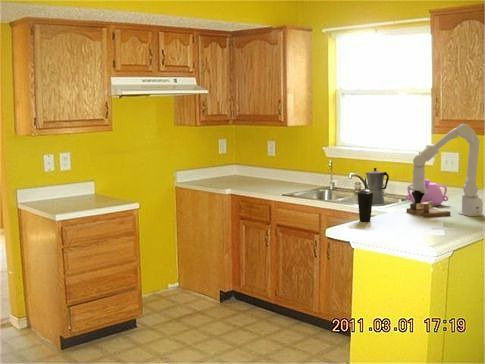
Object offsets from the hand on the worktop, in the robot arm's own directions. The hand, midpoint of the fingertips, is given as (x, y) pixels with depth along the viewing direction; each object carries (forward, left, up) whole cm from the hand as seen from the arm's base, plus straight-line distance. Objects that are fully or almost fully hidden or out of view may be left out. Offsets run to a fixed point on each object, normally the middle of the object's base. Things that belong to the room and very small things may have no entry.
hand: (417, 206), depth 298 cm
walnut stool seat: (-7, -2, -3) cm, 7 cm away
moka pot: (+30, +5, -3) cm, 31 cm away
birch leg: (-2, -1, -1) cm, 2 cm away
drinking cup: (-13, +36, -3) cm, 39 cm away
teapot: (+16, -17, -3) cm, 24 cm away
